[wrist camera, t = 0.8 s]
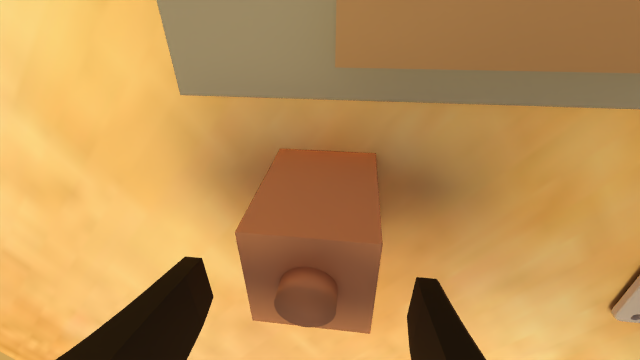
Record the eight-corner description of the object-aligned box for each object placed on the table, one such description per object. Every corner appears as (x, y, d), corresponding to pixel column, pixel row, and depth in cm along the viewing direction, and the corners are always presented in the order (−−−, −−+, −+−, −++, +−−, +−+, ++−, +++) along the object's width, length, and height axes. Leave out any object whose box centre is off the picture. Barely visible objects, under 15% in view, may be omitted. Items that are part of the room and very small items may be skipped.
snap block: (375, 152, 14) (384, 264, 8) (368, 227, 16) (370, 355, 11) (280, 148, 14) (224, 250, 9) (286, 221, 17) (246, 340, 11)
